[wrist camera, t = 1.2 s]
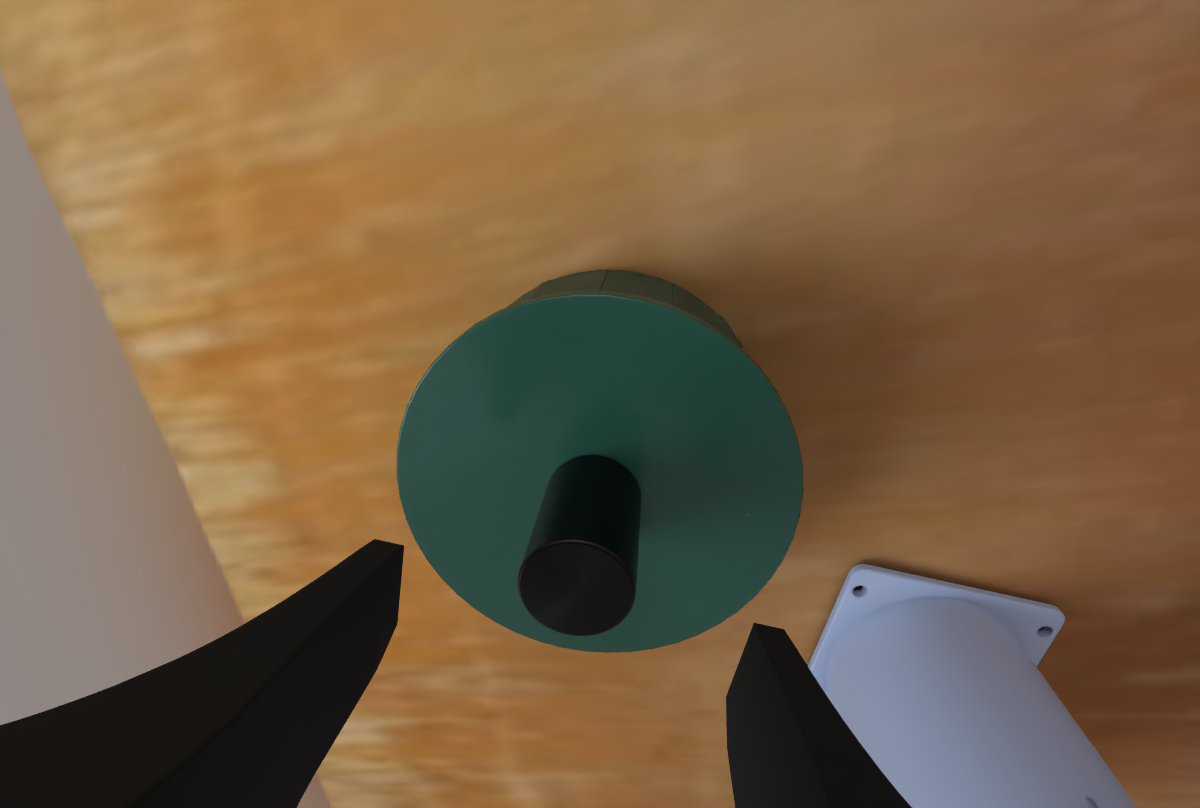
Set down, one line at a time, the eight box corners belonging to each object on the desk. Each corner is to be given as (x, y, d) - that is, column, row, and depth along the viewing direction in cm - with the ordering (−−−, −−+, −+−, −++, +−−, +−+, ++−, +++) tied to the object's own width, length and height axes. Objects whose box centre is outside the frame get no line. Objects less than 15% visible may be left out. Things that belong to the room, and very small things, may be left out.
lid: (733, 660, 20) (754, 814, 16) (397, 586, 20) (319, 717, 16) (853, 335, 16) (932, 415, 11) (426, 243, 16) (330, 283, 11)
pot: (714, 565, 24) (726, 662, 20) (451, 508, 24) (403, 591, 20) (799, 307, 20) (839, 354, 16) (483, 239, 20) (432, 266, 16)
